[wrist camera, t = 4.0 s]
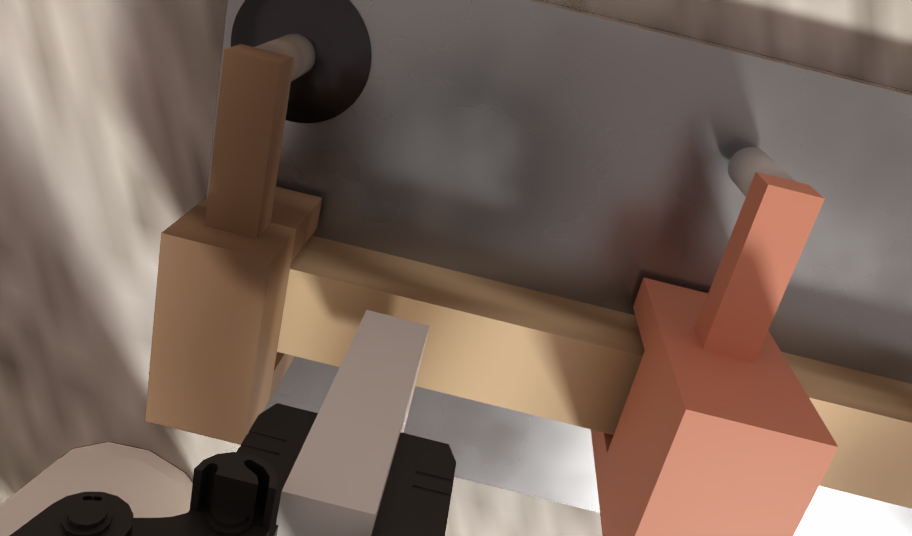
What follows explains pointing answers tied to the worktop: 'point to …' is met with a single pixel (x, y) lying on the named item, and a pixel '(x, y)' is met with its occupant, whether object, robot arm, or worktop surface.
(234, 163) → the beam gauge
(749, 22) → the worktop surface
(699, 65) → the bolt plate
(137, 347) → the worktop surface
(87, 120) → the worktop surface
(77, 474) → the foam cup
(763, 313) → the sliding jaw
